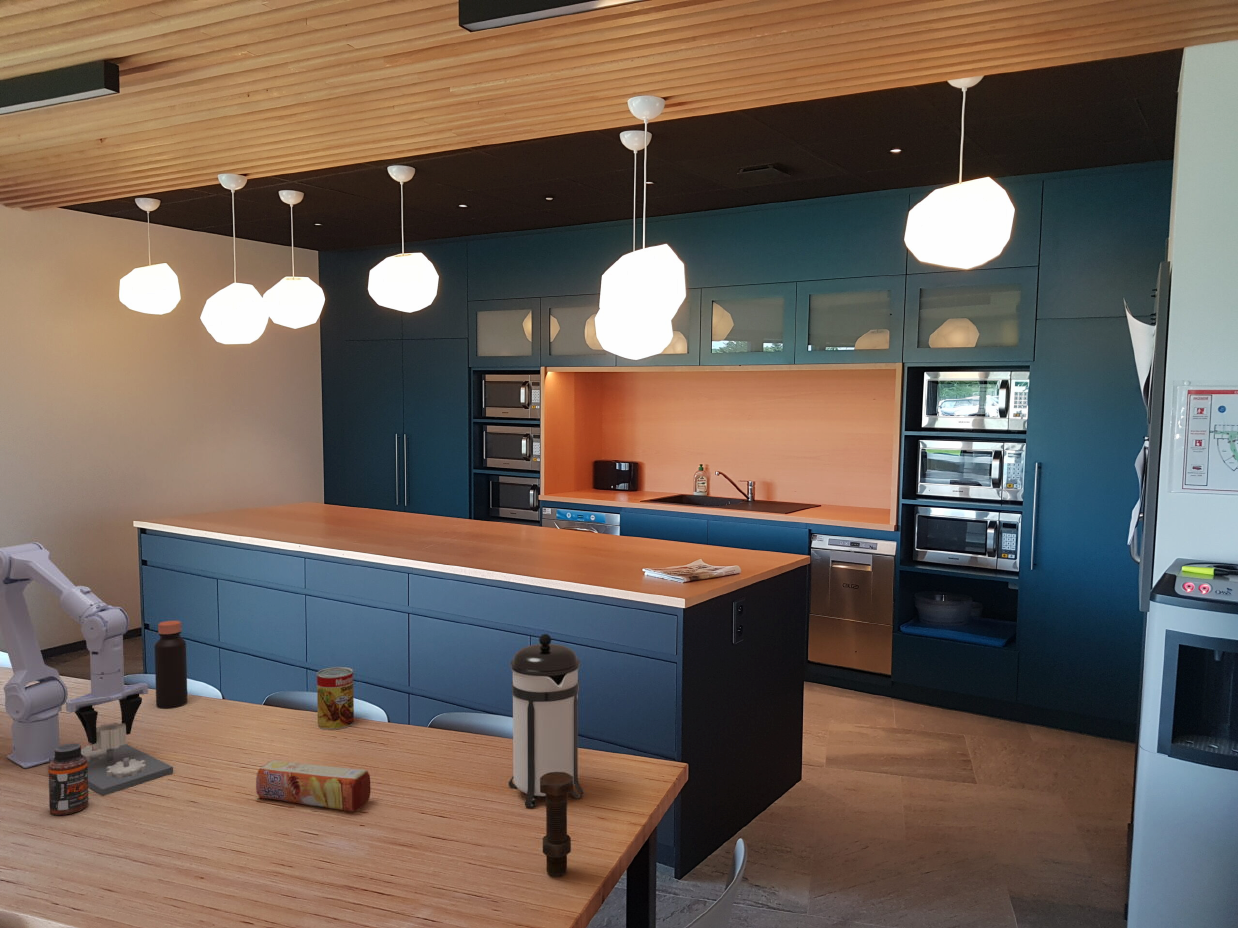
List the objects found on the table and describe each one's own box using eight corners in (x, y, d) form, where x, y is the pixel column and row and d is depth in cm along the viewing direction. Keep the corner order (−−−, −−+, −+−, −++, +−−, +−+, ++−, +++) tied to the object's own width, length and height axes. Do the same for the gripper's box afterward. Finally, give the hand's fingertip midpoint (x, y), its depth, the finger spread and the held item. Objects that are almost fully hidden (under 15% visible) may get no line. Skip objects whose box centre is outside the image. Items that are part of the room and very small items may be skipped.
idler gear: (87, 745, 175) (87, 728, 175) (118, 737, 179) (118, 720, 179) (100, 752, 171) (100, 734, 171) (132, 743, 176) (131, 726, 176)
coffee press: (601, 781, 170) (601, 628, 168) (561, 816, 155) (561, 648, 154) (523, 766, 177) (523, 618, 175) (478, 797, 163) (477, 637, 161)
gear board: (49, 764, 178) (48, 740, 177) (117, 744, 188) (116, 722, 188) (102, 795, 163) (101, 770, 163) (173, 772, 174) (172, 748, 173)
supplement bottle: (70, 817, 154) (67, 754, 154) (41, 814, 156) (38, 751, 155) (96, 803, 160) (94, 742, 160) (68, 800, 161) (66, 739, 161)
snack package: (252, 801, 162) (251, 765, 161) (276, 787, 168) (275, 752, 167) (353, 817, 155) (352, 779, 155) (374, 801, 162) (373, 765, 161)
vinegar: (149, 707, 211) (147, 625, 210) (168, 698, 218) (166, 619, 217) (175, 709, 210) (173, 626, 209) (193, 700, 217) (191, 620, 216)
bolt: (540, 863, 139) (540, 770, 138) (572, 862, 139) (572, 769, 139) (540, 883, 133) (540, 786, 132) (573, 882, 134) (573, 785, 133)
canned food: (347, 729, 197) (346, 677, 197) (312, 729, 197) (311, 676, 197) (358, 717, 205) (357, 666, 204) (324, 717, 205) (323, 666, 205)
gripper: (75, 683, 166) (78, 753, 167) (154, 665, 178) (156, 731, 179) (60, 676, 171) (62, 745, 171) (137, 659, 182) (140, 724, 183)
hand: (109, 737), depth 175 cm, fingers closed on idler gear, 6 cm apart
